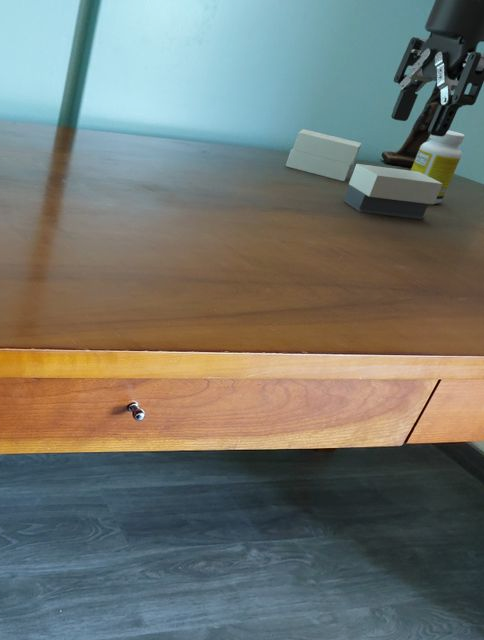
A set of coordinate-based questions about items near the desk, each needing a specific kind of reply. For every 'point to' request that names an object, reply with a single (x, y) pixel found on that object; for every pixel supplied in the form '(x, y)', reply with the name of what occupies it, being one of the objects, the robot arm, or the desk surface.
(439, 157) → the pill bottle
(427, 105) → the statue
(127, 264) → the desk surface
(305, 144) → the white stack
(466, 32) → the robot arm
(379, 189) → the white block
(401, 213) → the dark gray block
